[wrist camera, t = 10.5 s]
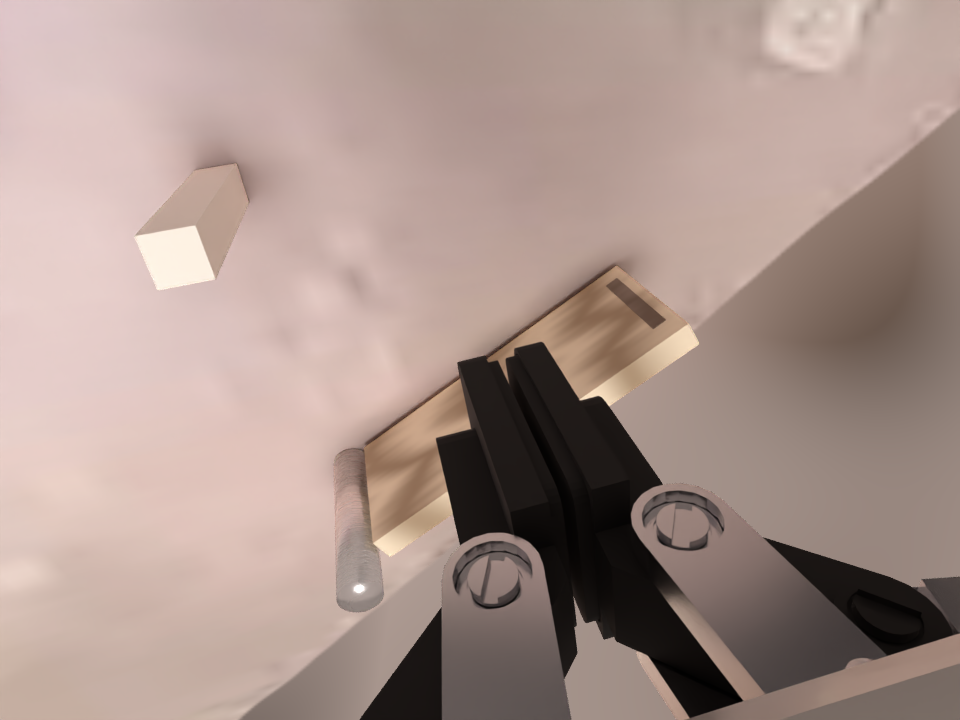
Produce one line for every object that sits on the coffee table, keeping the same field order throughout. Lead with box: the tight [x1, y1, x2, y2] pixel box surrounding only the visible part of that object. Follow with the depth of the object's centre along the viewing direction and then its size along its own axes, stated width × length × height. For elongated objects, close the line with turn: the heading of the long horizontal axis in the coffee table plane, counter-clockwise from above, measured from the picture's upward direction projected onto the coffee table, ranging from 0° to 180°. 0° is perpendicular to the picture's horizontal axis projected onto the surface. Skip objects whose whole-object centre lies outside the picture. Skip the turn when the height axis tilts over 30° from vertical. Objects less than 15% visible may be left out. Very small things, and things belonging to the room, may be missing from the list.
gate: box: [364, 266, 699, 557], centre depth 34 cm, size 20×2×8 cm, turn 124°
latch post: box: [134, 163, 249, 290], centre depth 25 cm, size 2×2×11 cm
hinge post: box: [334, 449, 384, 612], centre depth 35 cm, size 2×2×11 cm
